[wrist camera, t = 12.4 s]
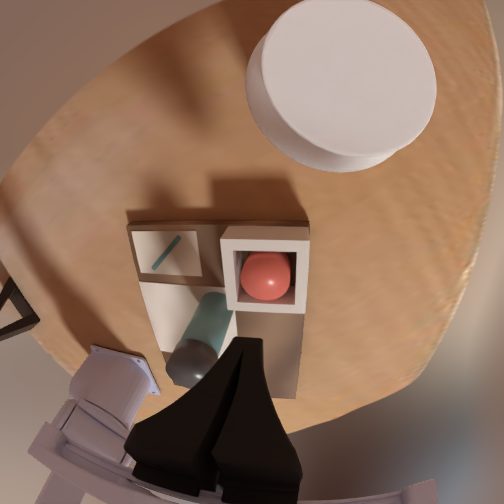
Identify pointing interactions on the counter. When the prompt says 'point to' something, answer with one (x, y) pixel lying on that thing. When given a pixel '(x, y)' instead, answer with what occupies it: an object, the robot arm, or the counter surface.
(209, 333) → the marker
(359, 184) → the counter surface
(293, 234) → the button housing
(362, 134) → the supplement bottle
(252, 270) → the button
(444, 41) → the counter surface
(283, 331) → the drawing board
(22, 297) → the black spring clamp
